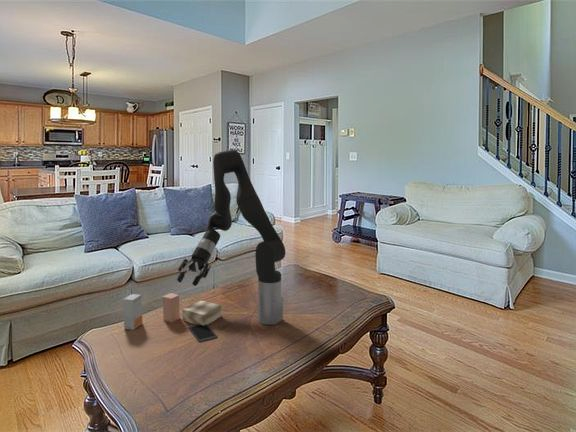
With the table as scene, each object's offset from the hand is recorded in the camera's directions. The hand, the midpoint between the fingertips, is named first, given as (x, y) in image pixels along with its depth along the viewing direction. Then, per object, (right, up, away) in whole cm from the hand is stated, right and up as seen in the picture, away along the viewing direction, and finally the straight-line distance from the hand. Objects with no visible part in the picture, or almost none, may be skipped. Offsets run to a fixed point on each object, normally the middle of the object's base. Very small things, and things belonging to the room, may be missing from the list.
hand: (186, 283), depth 159 cm
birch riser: (+8, -14, -4) cm, 16 cm away
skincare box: (-17, -15, -12) cm, 26 cm away
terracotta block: (-4, -14, -6) cm, 15 cm away
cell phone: (+11, -16, -17) cm, 26 cm away
